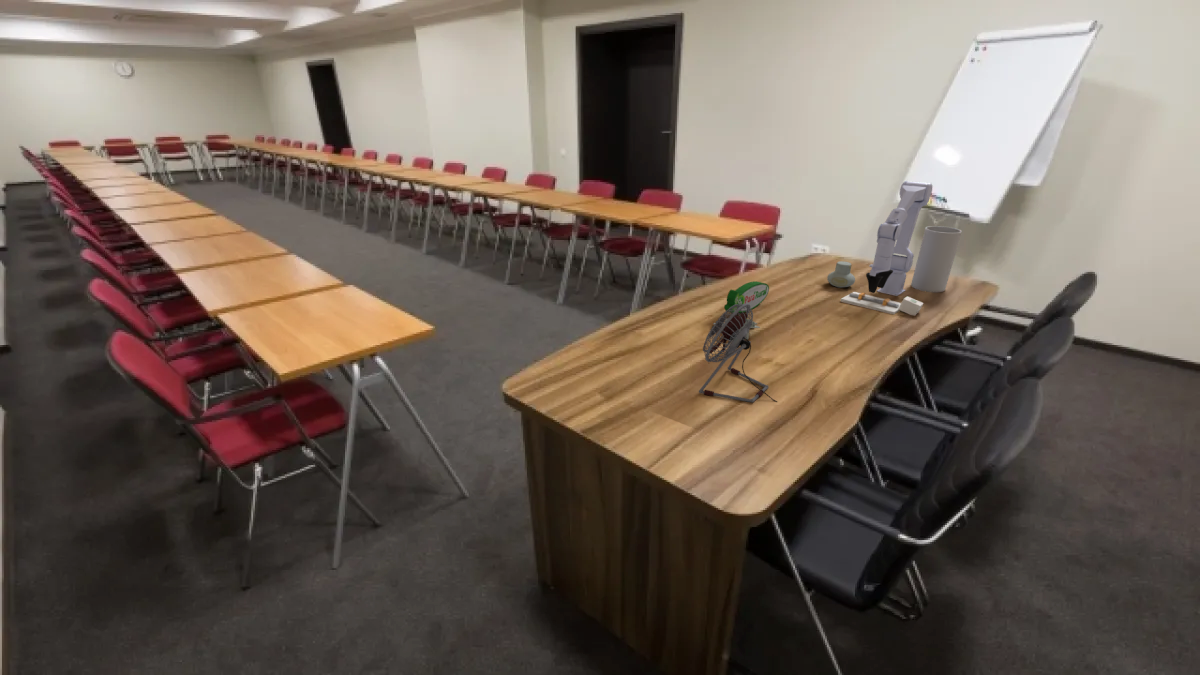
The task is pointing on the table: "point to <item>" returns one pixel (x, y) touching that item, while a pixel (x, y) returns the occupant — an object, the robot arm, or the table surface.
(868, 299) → the din rail
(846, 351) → the table surface
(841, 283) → the air freshener
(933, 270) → the cylinder vase
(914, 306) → the block
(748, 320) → the metal bracket
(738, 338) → the desk fan
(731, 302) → the sign
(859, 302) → the rail board
